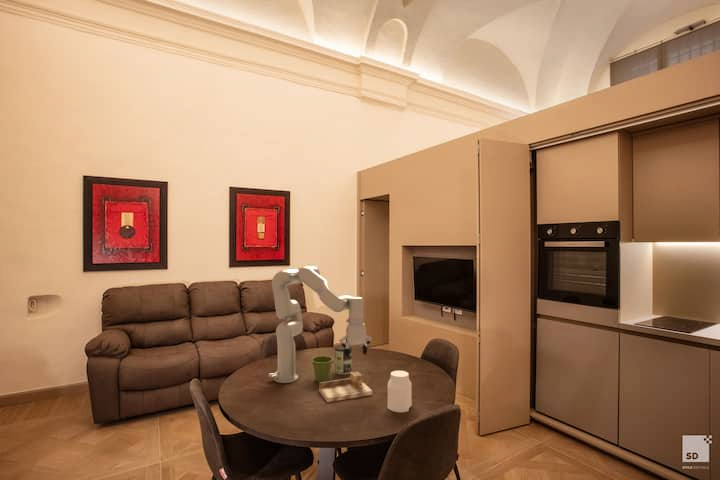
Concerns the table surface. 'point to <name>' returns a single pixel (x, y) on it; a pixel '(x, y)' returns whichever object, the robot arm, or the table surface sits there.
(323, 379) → the plant pot
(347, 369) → the coffee can
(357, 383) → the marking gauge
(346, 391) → the board
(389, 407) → the jar
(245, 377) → the table surface
